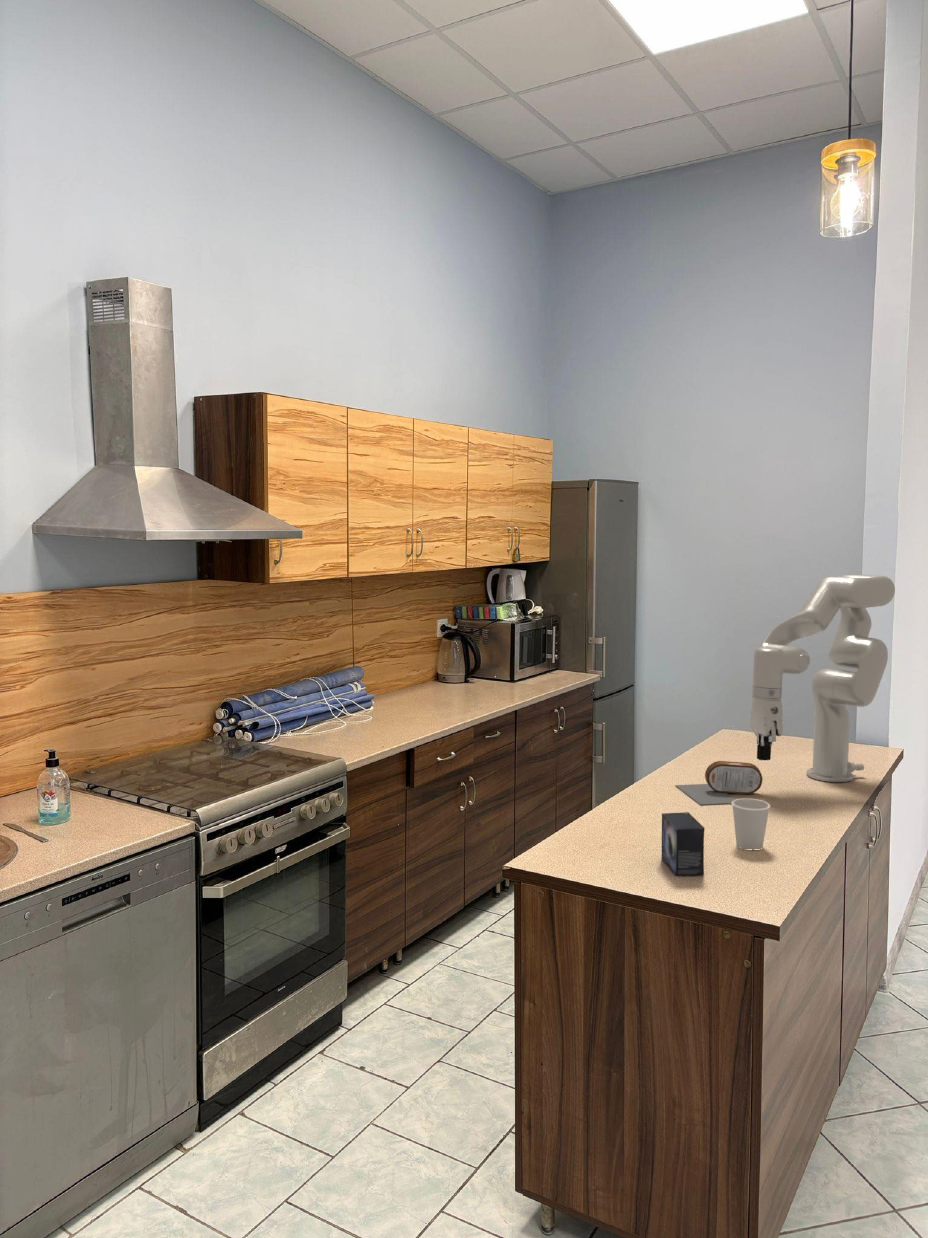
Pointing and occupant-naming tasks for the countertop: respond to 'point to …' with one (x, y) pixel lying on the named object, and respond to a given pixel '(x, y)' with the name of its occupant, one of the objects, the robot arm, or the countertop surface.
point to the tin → (733, 777)
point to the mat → (705, 794)
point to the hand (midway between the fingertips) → (763, 759)
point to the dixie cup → (750, 822)
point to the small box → (683, 844)
